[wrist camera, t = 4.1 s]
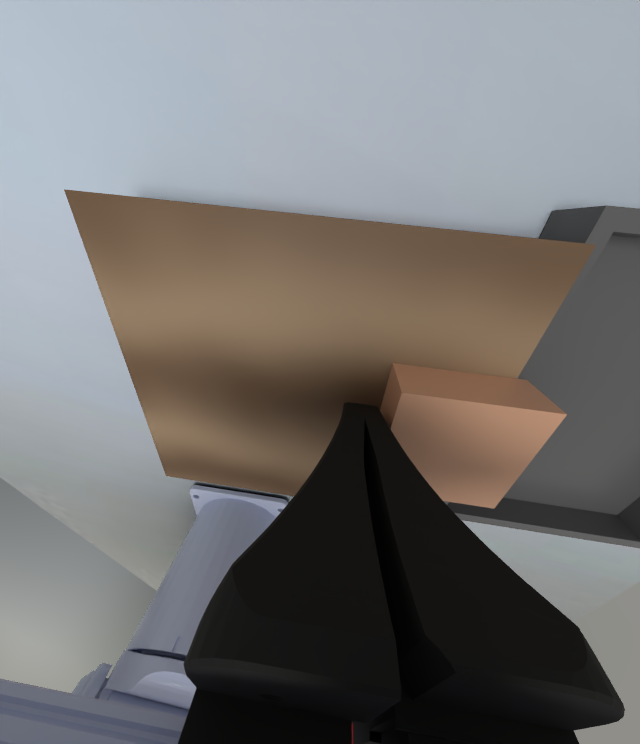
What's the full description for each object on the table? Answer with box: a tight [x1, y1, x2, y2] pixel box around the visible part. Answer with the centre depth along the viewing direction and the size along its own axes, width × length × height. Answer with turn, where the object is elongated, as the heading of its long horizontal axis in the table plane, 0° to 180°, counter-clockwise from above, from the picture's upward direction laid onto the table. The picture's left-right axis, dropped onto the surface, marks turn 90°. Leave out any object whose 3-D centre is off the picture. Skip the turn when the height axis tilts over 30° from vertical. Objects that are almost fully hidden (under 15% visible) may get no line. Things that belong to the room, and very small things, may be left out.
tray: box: [444, 206, 640, 548], centre depth 12 cm, size 16×13×2 cm
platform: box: [64, 190, 596, 496], centre depth 12 cm, size 14×16×3 cm
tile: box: [380, 363, 567, 509], centre depth 10 cm, size 5×5×2 cm
